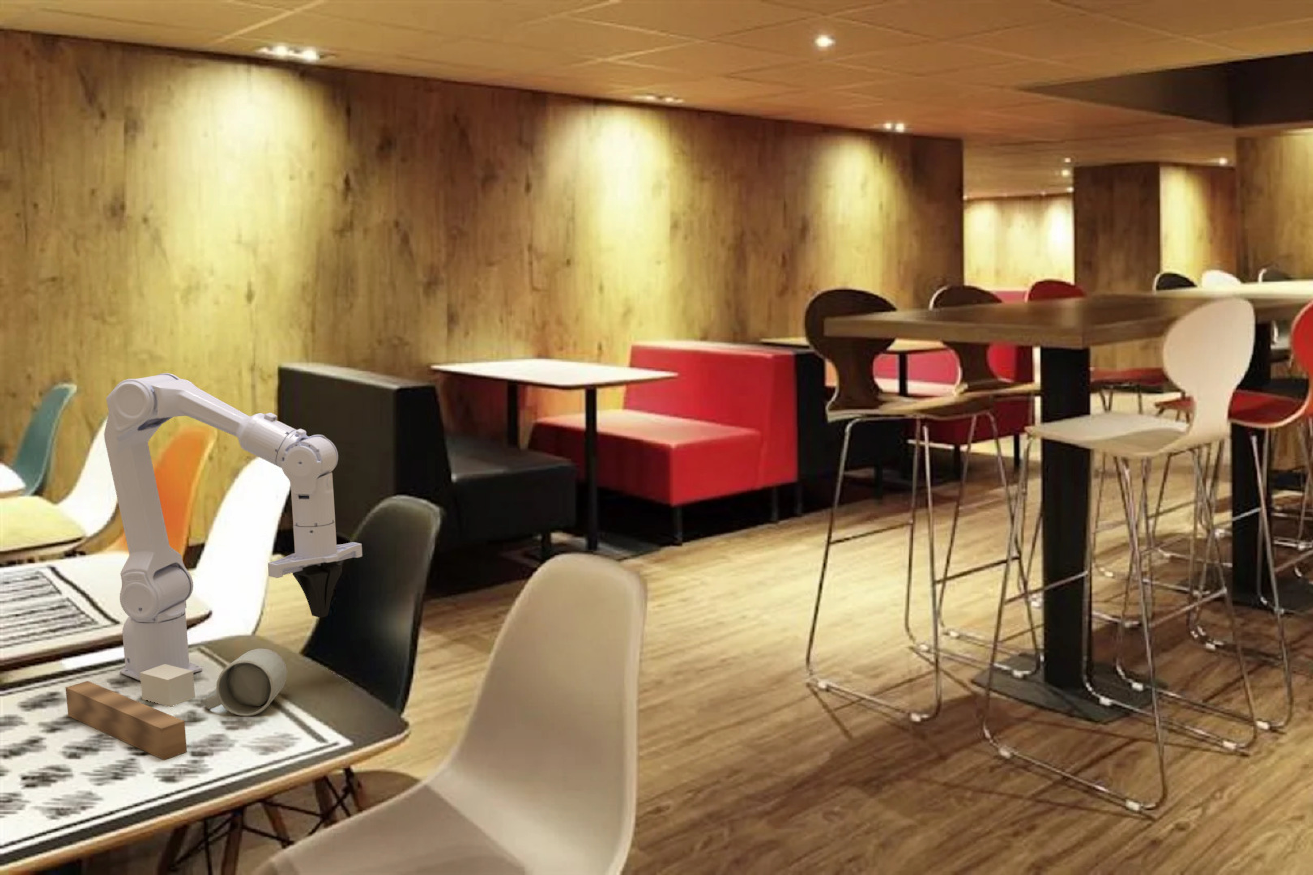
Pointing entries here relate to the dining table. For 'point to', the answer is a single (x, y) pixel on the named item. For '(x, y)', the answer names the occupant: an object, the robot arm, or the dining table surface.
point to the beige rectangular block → (167, 685)
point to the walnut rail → (127, 719)
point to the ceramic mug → (249, 683)
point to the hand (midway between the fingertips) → (319, 615)
